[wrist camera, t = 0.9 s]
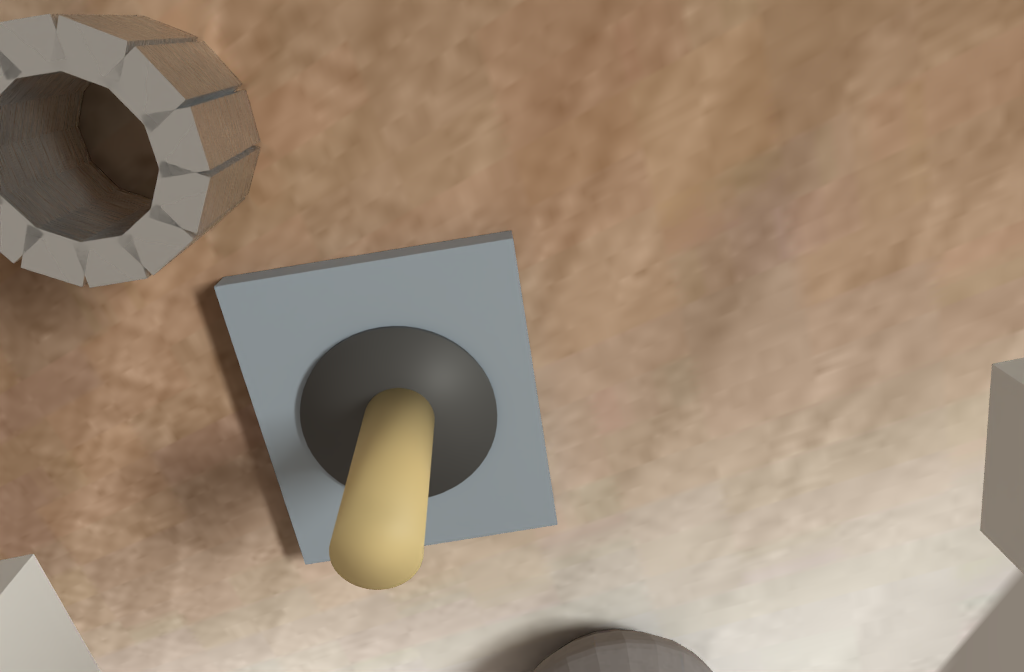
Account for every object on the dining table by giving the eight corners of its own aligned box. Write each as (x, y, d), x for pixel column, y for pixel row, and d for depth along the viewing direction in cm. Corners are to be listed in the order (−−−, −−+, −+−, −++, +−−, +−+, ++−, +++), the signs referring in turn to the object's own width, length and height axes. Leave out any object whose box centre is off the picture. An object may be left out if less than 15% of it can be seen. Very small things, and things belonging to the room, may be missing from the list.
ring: (1, 37, 27) (-121, 42, 21) (220, 1, 27) (155, -4, 21) (85, 250, 30) (-3, 302, 24) (281, 218, 30) (239, 263, 24)
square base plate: (222, 277, 30) (113, 391, 21) (511, 230, 30) (530, 323, 21) (310, 547, 36) (254, 733, 27) (554, 509, 36) (585, 681, 26)
